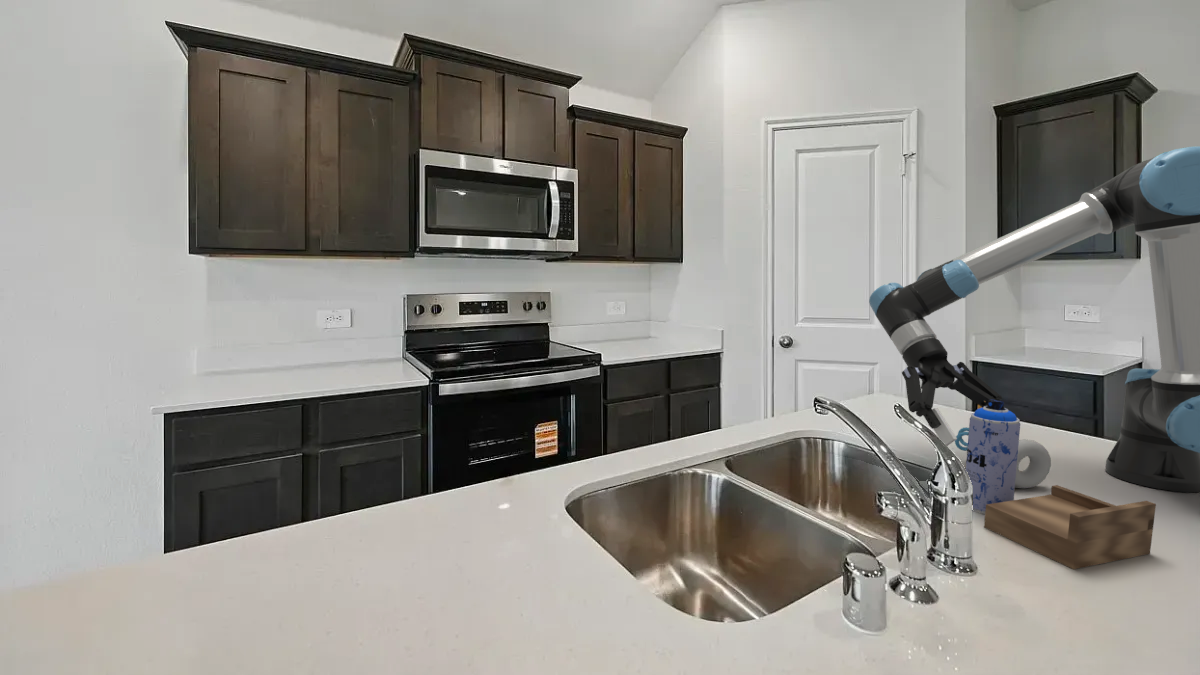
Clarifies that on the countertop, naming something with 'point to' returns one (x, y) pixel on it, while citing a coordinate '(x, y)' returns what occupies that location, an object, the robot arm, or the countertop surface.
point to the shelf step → (1075, 527)
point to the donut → (1032, 464)
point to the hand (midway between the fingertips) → (980, 439)
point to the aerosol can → (992, 454)
